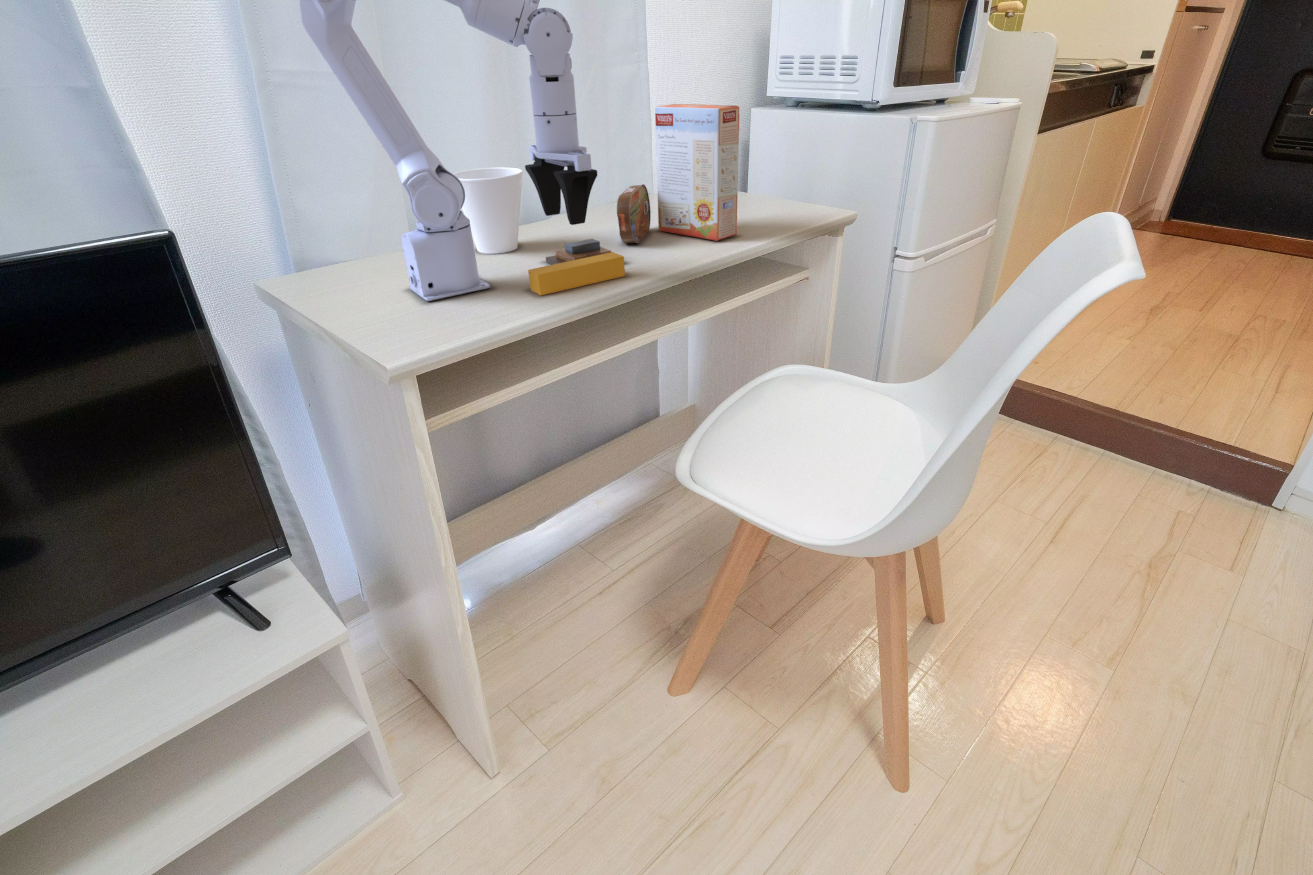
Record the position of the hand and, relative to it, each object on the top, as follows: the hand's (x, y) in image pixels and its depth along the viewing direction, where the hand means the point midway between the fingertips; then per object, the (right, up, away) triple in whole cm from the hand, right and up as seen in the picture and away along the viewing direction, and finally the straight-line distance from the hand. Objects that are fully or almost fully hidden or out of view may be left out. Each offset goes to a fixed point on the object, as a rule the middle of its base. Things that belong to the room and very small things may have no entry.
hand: (564, 219), depth 99 cm
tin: (+9, +4, +25) cm, 27 cm away
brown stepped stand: (+2, -3, +12) cm, 12 cm away
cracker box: (+20, +5, +26) cm, 33 cm away
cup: (-14, +1, +21) cm, 26 cm away
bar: (+2, -9, +2) cm, 9 cm away
